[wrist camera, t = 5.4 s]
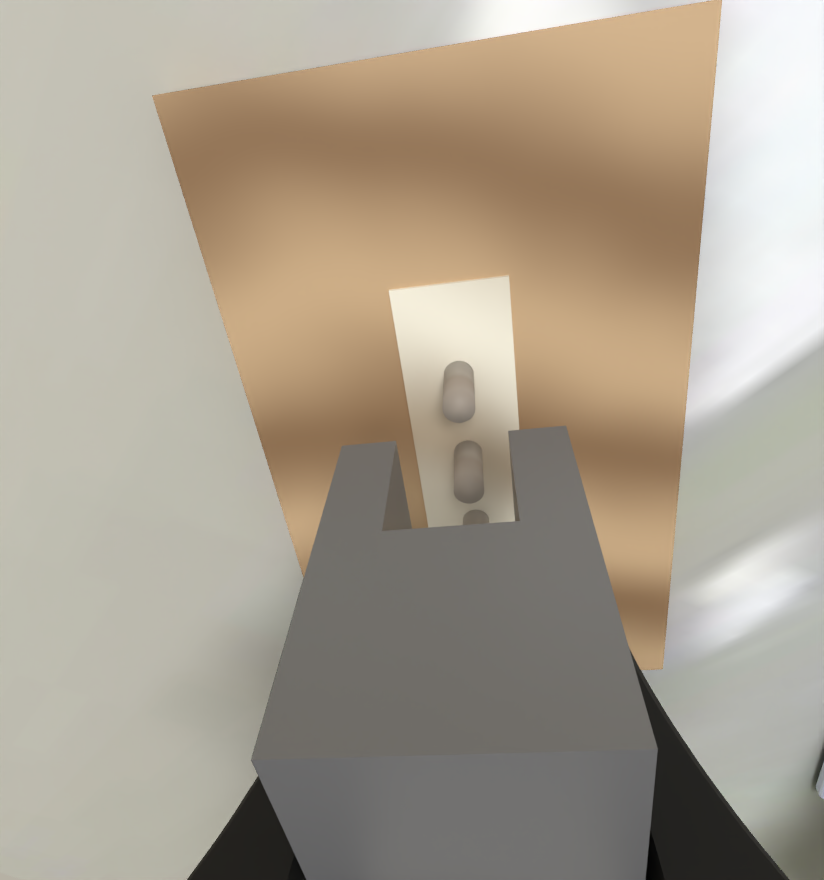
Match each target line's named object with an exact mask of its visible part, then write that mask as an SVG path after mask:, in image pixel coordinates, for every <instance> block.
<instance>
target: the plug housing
mask: <svg viewBox="0 0 824 880" xmlns="http://www.w3.org/2000/svg"><path fill="white" fill-rule="evenodd" d="M508 436H509V449H510V462H511V476H512V489H513V502H514V515H515V521H512V522H499V523H485V524H471V525H457V526H443V527H429V528H416V529H412V525H411V520H410V514H409V509H408V503H407V498H406V492H405V487H404V482H403V476H402V471H401V465H400V460H399V454H398V449H397V443H396V441H389V442H378V443H367V444H356V445H345V446H342V447H341V450H340V454H339V457H338V461H337V464H336V468H335V471H334V475H333V478H332V482H331V485H330V489H329V492H328V495H327V499H326V502H325V506H324V509H323V513H322V516H321V520H320V523H319V527H318V530H317V534H316V537H315V540H314V544H313V547H312V551H311V554H310V558H309V561H308V565H307V568H306V572H305V575H304V579H303V582H302V586H301V589H300V592H299V596H298V599H297V603H296V606H295V610H294V613H293V617H292V620H291V624H290V627H289V631H288V634H287V637H286V641H285V644H284V648H283V651H282V655H281V658H280V662H279V665H278V669H277V672H276V676H275V679H274V682H273V686H272V689H271V693H270V696H269V700H268V703H267V707H266V710H265V714H264V717H263V721H262V724H261V727H260V731H259V734H258V738H257V741H256V745H255V748H254V752H253V755H252V759H251V761H252V763H253V765H254V767H255V770H256V772H257V774H258V776H259V778H260V780H261V783H262V785H263V787H264V789H265V791H266V793H267V796H268V798H269V800H270V802H271V804H272V806H273V809H274V811H275V813H276V815H277V817H278V819H279V822H280V824H281V826H282V828H283V830H284V832H285V834H286V837H287V839H288V841H289V843H290V845H291V847H292V850H293V852H294V854H295V856H296V858H297V860H298V863H299V865H300V867H301V869H302V871H303V873H304V876H305V878H306V880H646V869H647V858H648V848H649V837H650V827H651V816H652V805H653V795H654V784H655V774H656V763H657V752H658V748H657V745H656V741H655V738H654V734H653V730H652V727H651V723H650V720H649V716H648V713H647V709H646V706H645V702H644V699H643V695H642V692H641V688H640V685H639V681H638V678H637V674H636V671H635V667H634V663H633V660H632V656H631V653H630V649H629V646H628V642H627V639H626V635H625V632H624V628H623V625H622V621H621V618H620V614H619V611H618V607H617V603H616V600H615V596H614V593H613V589H612V586H611V582H610V579H609V575H608V572H607V568H606V565H605V561H604V558H603V554H602V551H601V547H600V544H599V540H598V536H597V533H596V529H595V526H594V522H593V519H592V515H591V512H590V508H589V505H588V501H587V498H586V494H585V491H584V487H583V484H582V480H581V476H580V473H579V469H578V466H577V462H576V459H575V455H574V452H573V448H572V445H571V441H570V438H569V434H568V431H567V427H566V426H556V427H544V428H533V429H522V430H511V431H508Z"/></svg>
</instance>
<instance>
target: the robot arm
mask: <svg viewBox="0 0 824 880" xmlns="http://www.w3.org/2000/svg"><path fill="white" fill-rule="evenodd" d="M629 649H630V648H629ZM630 653H631V656H632V660H633V663H634V667H635V671H636V674H637V678H638V681H639V685H640V688H641V692H642V695H643V699H644V702H645V706H646V709H647V713H648V716H649V720H650V723H651V727H652V730H653V734H654V738H655V741H656V745H657V748H658V752H657V763H656V774H655V784H654V795H653V805H652V816H651V827H650V837H649V848H648V858H647V869H646V880H789V879H788V877H787V876H786V875H785V874H784V873H783V871H782V870H781V869H780V868H779V867H778V865H777V864H776V863H775V862H774V861H773V859H772V858H771V857H770V856H769V855H768V853H767V852H766V851H765V850H764V849H763V847H762V846H761V845H760V844H759V842H758V841H757V840H756V839H755V837H754V836H753V835H752V834H751V832H750V831H749V830H748V828H747V827H746V826H745V825H744V823H743V822H742V821H741V819H740V818H739V817H738V816H737V814H736V813H735V812H734V810H733V809H732V808H731V806H730V805H729V804H728V802H727V801H726V800H725V798H724V797H723V795H722V794H721V793H720V791H719V790H718V789H717V787H716V786H715V785H714V783H713V782H712V781H711V779H710V778H709V776H708V775H707V774H706V772H705V771H704V769H703V768H702V766H701V765H700V764H699V762H698V761H697V759H696V758H695V756H694V755H693V753H692V752H691V750H690V749H689V747H688V746H687V744H686V743H685V741H684V740H683V738H682V737H681V735H680V734H679V732H678V731H677V729H676V728H675V727H674V725H673V723H672V722H671V720H670V719H669V717H668V716H667V714H666V712H665V711H664V709H663V707H662V706H661V704H660V702H659V701H658V699H657V698H656V696H655V694H654V693H653V691H652V689H651V687H650V686H649V684H648V682H647V680H646V679H645V677H644V675H643V673H642V671H641V670H640V668H639V666H638V664H637V662H636V660H635V658H634V656H633V654H632V652H631V650H630ZM816 790H817V792H818V795H819V796H820V797H821V798H822V799H824V762H823V765H822V768H821V772H820V775H819V778H818V781H817V784H816ZM187 880H306V878H305V876H304V873H303V871H302V869H301V867H300V865H299V863H298V860H297V858H296V856H295V854H294V852H293V850H292V847H291V845H290V843H289V841H288V839H287V837H286V834H285V832H284V830H283V828H282V826H281V824H280V822H279V819H278V817H277V815H276V813H275V811H274V809H273V806H272V804H271V802H270V800H269V798H268V796H267V793H266V791H265V789H264V787H263V785H262V783H261V780H260V778H259V776H258V777H257V779H256V780H255V782H254V783H253V785H252V786H251V788H250V790H249V791H248V793H247V794H246V796H245V797H244V799H243V800H242V802H241V804H240V805H239V807H238V808H237V810H236V811H235V813H234V815H233V816H232V817H231V819H230V820H229V822H228V823H227V825H226V826H225V828H224V829H223V831H222V832H221V834H220V835H219V836H218V838H217V839H216V841H215V842H214V844H213V845H212V846H211V848H210V849H209V851H208V852H207V853H206V855H205V856H204V857H203V859H202V860H201V861H200V863H199V864H198V866H197V867H196V868H195V870H194V871H193V872H192V874H191V875H190V876H189V878H188V879H187Z"/></svg>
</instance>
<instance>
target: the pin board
mask: <svg viewBox="0 0 824 880" xmlns="http://www.w3.org/2000/svg"><path fill="white" fill-rule="evenodd" d="M721 6H722V0H712V1H706V2H700V3H694V4H689V5H683V6H677V7H671V8H665V9H659V10H653V11H647V12H641V13H636V14H630V15H624V16H618V17H612V18H606V19H600V20H594V21H588V22H583V23H577V24H571V25H565V26H559V27H553V28H547V29H541V30H536V31H530V32H524V33H518V34H512V35H506V36H500V37H494V38H488V39H483V40H477V41H471V42H465V43H459V44H453V45H447V46H441V47H435V48H430V49H424V50H418V51H412V52H406V53H400V54H394V55H388V56H382V57H377V58H371V59H365V60H359V61H353V62H347V63H341V64H335V65H330V66H324V67H318V68H312V69H306V70H300V71H294V72H288V73H282V74H277V75H271V76H265V77H259V78H253V79H247V80H241V81H235V82H229V83H224V84H218V85H212V86H206V87H200V88H194V89H188V90H182V91H176V92H171V93H165V94H159V95H153V96H152V97H153V100H154V103H155V106H156V109H157V113H158V116H159V119H160V122H161V125H162V129H163V132H164V135H165V138H166V141H167V144H168V148H169V151H170V154H171V157H172V160H173V163H174V167H175V170H176V173H177V176H178V179H179V183H180V186H181V189H182V192H183V195H184V198H185V202H186V205H187V208H188V211H189V214H190V218H191V221H192V224H193V227H194V230H195V233H196V237H197V240H198V243H199V246H200V249H201V253H202V256H203V259H204V262H205V265H206V268H207V272H208V275H209V278H210V281H211V284H212V288H213V291H214V294H215V297H216V300H217V303H218V307H219V310H220V313H221V316H222V319H223V323H224V326H225V329H226V332H227V335H228V338H229V342H230V345H231V348H232V351H233V354H234V357H235V361H236V364H237V367H238V370H239V373H240V377H241V380H242V383H243V386H244V389H245V392H246V396H247V399H248V402H249V405H250V408H251V412H252V415H253V418H254V421H255V424H256V427H257V431H258V434H259V437H260V440H261V443H262V447H263V450H264V453H265V456H266V459H267V462H268V466H269V469H270V472H271V475H272V478H273V482H274V485H275V488H276V491H277V494H278V497H279V501H280V504H281V507H282V510H283V513H284V516H285V520H286V523H287V526H288V529H289V532H290V536H291V539H292V542H293V545H294V548H295V551H296V555H297V558H298V561H299V564H300V567H301V571H302V574H303V577H304V575H305V572H306V568H307V565H308V561H309V558H310V554H311V551H312V547H313V544H314V540H315V537H316V534H317V530H318V527H319V523H320V520H321V516H322V513H323V509H324V506H325V502H326V499H327V495H328V492H329V489H330V485H331V482H332V478H333V475H334V471H335V468H336V464H337V461H338V457H339V454H340V450H341V447H342V446H345V445H356V444H367V443H378V442H389V441H396V443H397V449H398V454H399V460H400V465H401V471H402V476H403V482H404V487H405V492H406V498H407V503H408V509H409V514H410V520H411V525H412V529H416V528H429V527H443V526H457V525H471V524H485V523H499V522H512V521H515V515H514V502H513V489H512V476H511V462H510V449H509V436H508V431H511V430H522V429H533V428H544V427H556V426H566V427H567V431H568V434H569V438H570V441H571V445H572V448H573V452H574V455H575V459H576V462H577V466H578V469H579V473H580V476H581V480H582V484H583V487H584V491H585V494H586V498H587V501H588V505H589V508H590V512H591V515H592V519H593V522H594V526H595V529H596V533H597V536H598V540H599V544H600V547H601V551H602V554H603V558H604V561H605V565H606V568H607V572H608V575H609V579H610V582H611V586H612V589H613V593H614V596H615V600H616V603H617V607H618V611H619V614H620V618H621V621H622V625H623V628H624V632H625V635H626V639H627V642H628V646H629V648H630V650H631V652H632V654H633V656H634V658H635V660H636V662H637V664H638V666H639V668H640V670H655V669H663V660H664V649H665V637H666V626H667V615H668V604H669V592H670V581H671V570H672V558H673V547H674V536H675V525H676V513H677V502H678V491H679V479H680V468H681V457H682V446H683V434H684V423H685V412H686V401H687V389H688V378H689V367H690V355H691V344H692V333H693V322H694V310H695V299H696V288H697V276H698V265H699V254H700V243H701V231H702V220H703V209H704V197H705V186H706V175H707V164H708V152H709V141H710V130H711V118H712V107H713V96H714V85H715V73H716V62H717V51H718V39H719V28H720V17H721Z"/></svg>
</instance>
